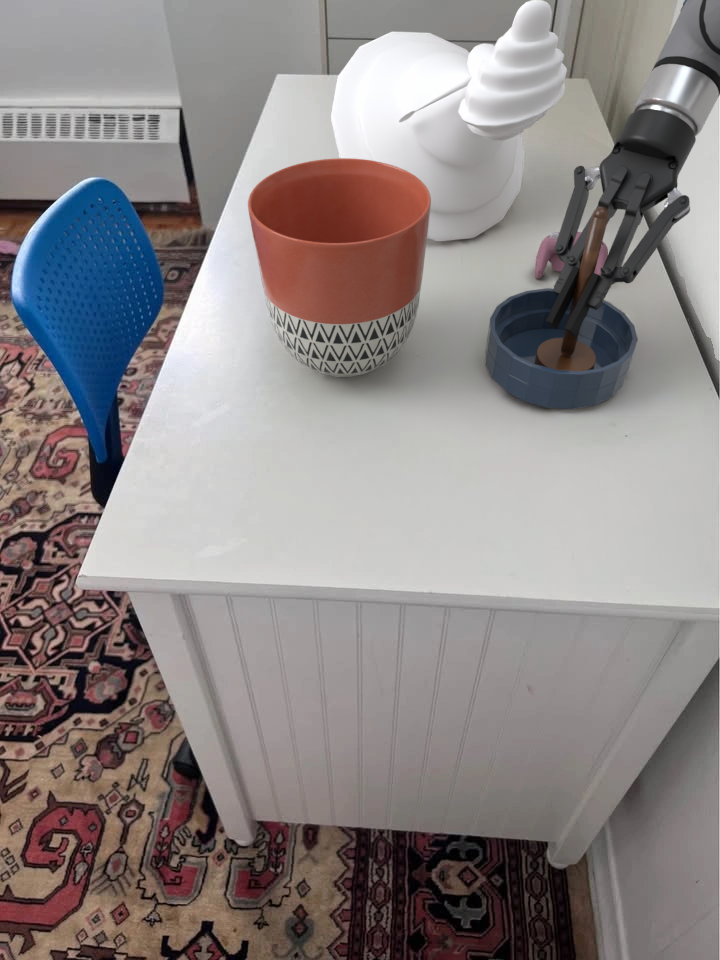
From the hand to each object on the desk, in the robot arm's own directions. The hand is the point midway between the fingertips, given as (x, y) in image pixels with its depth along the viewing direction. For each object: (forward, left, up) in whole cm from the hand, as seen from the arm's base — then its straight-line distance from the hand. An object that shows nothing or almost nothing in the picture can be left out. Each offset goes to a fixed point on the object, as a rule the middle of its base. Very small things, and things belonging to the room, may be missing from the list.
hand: (560, 328), depth 80 cm
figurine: (+37, -27, -10) cm, 47 cm away
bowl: (+2, -5, -9) cm, 11 cm away
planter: (+23, +11, -10) cm, 27 cm away
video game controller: (+12, -25, -10) cm, 29 cm away
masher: (0, -4, -8) cm, 9 cm away
